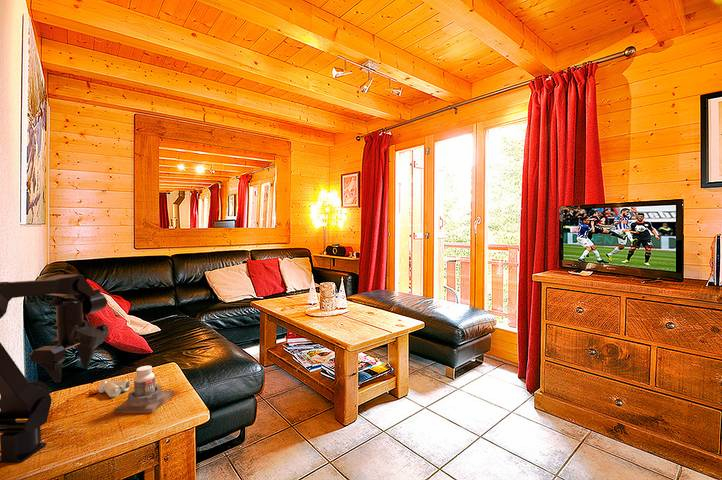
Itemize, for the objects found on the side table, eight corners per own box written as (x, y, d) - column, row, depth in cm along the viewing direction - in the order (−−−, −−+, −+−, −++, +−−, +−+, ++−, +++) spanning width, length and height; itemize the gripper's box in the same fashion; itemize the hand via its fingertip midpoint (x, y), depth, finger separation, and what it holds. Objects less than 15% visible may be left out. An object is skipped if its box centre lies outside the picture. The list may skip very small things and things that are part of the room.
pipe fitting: (118, 399, 108) (130, 388, 115) (117, 388, 108) (130, 377, 114) (91, 401, 107) (105, 389, 114) (90, 389, 107) (104, 378, 114)
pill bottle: (149, 403, 102) (147, 371, 101) (130, 404, 101) (129, 371, 101) (159, 395, 107) (158, 364, 107) (141, 395, 107) (140, 364, 107)
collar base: (152, 412, 99) (152, 400, 99) (114, 413, 99) (114, 400, 99) (173, 394, 110) (173, 383, 110) (139, 394, 110) (138, 383, 110)
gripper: (70, 329, 86) (73, 390, 87) (122, 311, 105) (124, 361, 105) (26, 329, 86) (29, 390, 87) (86, 311, 105) (88, 361, 105)
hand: (72, 374), depth 96 cm, fingers open, 9 cm apart
